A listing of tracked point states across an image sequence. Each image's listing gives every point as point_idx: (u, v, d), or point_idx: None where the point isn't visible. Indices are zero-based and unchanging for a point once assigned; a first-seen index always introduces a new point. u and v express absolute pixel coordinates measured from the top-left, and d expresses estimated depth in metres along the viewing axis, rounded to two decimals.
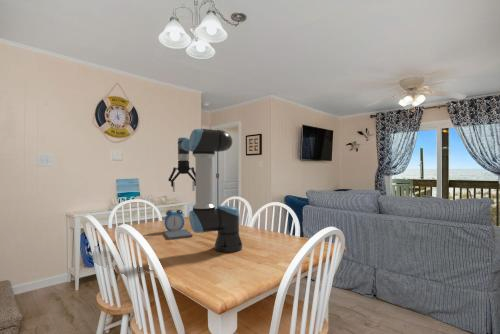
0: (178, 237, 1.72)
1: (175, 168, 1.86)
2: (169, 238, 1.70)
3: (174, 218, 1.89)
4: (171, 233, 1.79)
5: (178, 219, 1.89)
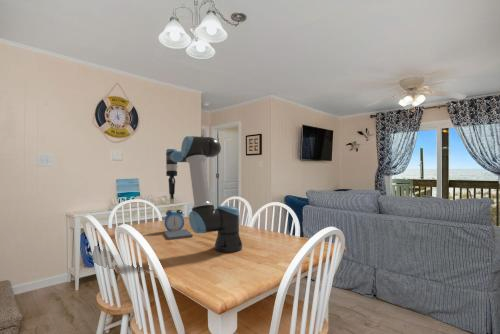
0: (178, 237, 1.72)
1: (168, 180, 2.03)
2: (169, 238, 1.70)
3: (174, 218, 1.89)
4: (171, 233, 1.79)
5: (178, 219, 1.89)
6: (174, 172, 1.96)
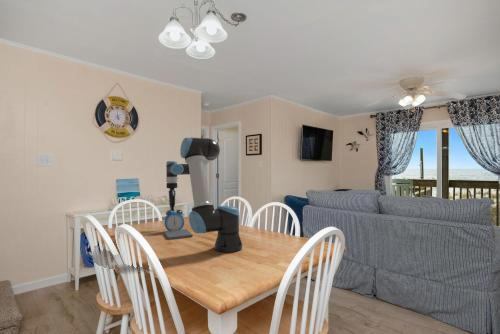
0: (178, 237, 1.72)
1: None
2: (169, 238, 1.70)
3: (174, 218, 1.89)
4: (171, 233, 1.79)
5: (178, 219, 1.89)
6: (174, 184, 1.96)
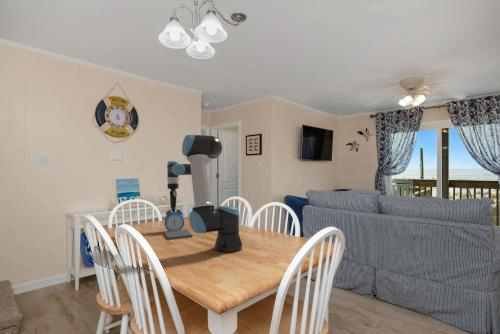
0: (178, 237, 1.72)
1: None
2: (169, 238, 1.70)
3: (174, 218, 1.88)
4: (171, 233, 1.79)
5: (178, 219, 1.89)
6: (175, 185, 1.92)
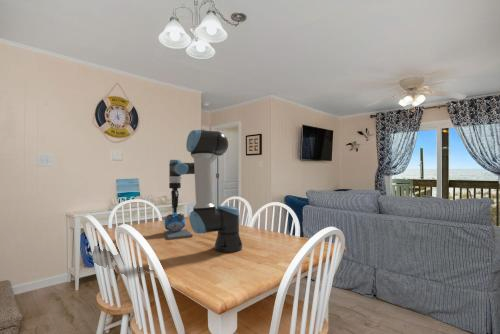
0: (178, 237, 1.72)
1: None
2: (169, 238, 1.70)
3: (175, 223, 1.82)
4: (171, 233, 1.79)
5: (179, 223, 1.84)
6: (177, 184, 1.85)
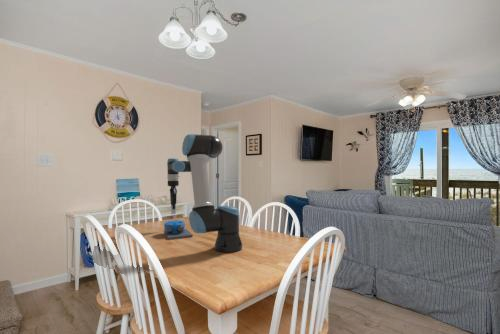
0: (178, 237, 1.72)
1: None
2: (169, 238, 1.70)
3: None
4: None
5: None
6: (175, 182, 1.93)
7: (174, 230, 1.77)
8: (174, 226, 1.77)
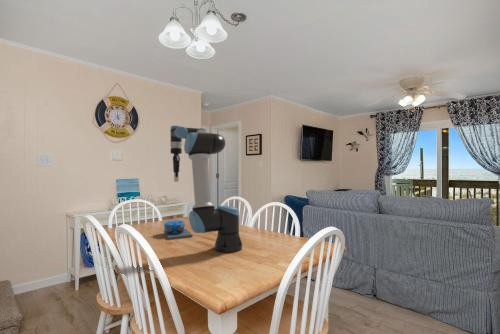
0: (178, 237, 1.72)
1: None
2: (169, 238, 1.70)
3: None
4: None
5: None
6: (179, 149, 1.92)
7: (174, 230, 1.77)
8: (174, 226, 1.77)
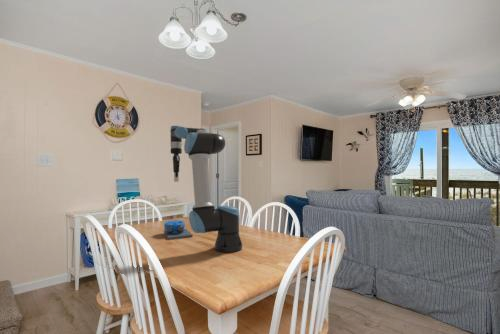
0: (178, 237, 1.72)
1: None
2: (169, 238, 1.70)
3: None
4: None
5: None
6: (179, 149, 1.92)
7: (174, 230, 1.77)
8: (174, 226, 1.77)
